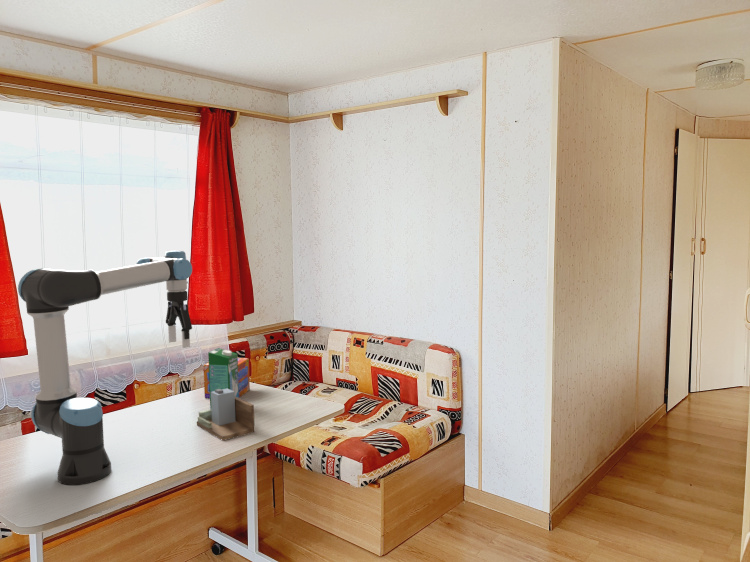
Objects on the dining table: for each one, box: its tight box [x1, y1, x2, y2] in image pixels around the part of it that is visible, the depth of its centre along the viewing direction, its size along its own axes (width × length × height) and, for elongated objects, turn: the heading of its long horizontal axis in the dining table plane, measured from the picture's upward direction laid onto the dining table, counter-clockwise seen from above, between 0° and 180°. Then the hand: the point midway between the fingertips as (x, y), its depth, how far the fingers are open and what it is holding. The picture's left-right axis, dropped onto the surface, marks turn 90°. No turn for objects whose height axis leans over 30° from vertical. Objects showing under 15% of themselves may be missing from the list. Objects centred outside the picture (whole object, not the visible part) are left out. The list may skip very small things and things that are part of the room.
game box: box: [203, 357, 251, 399], centre depth 266 cm, size 16×16×16 cm
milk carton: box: [207, 347, 239, 410], centre depth 246 cm, size 9×9×25 cm
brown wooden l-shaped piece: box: [196, 397, 256, 441], centre depth 221 cm, size 13×22×10 cm, turn 41°
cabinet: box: [211, 388, 236, 426], centre depth 224 cm, size 7×6×13 cm
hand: (179, 344), depth 225 cm, fingers open, 13 cm apart
